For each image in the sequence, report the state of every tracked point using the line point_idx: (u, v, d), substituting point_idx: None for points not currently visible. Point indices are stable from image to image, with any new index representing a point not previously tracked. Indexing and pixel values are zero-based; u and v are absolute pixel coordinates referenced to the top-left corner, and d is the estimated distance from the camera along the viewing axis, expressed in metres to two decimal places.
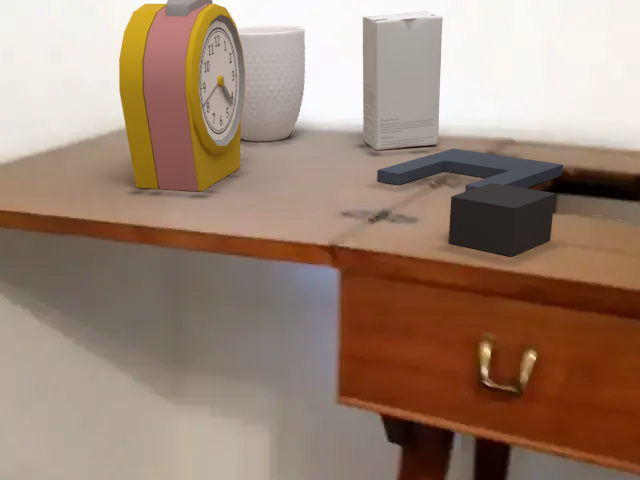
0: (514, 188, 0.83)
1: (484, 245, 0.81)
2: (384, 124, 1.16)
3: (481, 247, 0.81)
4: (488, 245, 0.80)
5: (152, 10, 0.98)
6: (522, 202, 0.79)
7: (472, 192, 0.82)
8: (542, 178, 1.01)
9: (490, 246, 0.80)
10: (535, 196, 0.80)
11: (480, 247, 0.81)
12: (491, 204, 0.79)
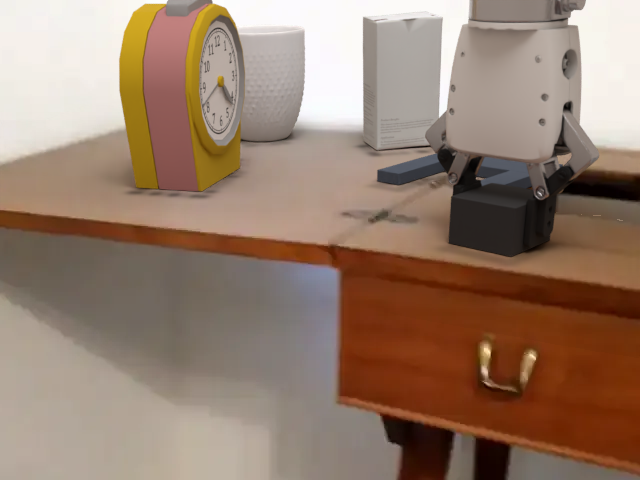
0: (514, 188, 0.83)
1: (484, 245, 0.81)
2: (384, 124, 1.16)
3: (481, 247, 0.81)
4: (488, 245, 0.80)
5: (152, 10, 0.98)
6: (522, 202, 0.79)
7: (472, 192, 0.82)
8: None
9: (490, 246, 0.80)
10: None
11: (480, 247, 0.81)
12: (490, 204, 0.79)
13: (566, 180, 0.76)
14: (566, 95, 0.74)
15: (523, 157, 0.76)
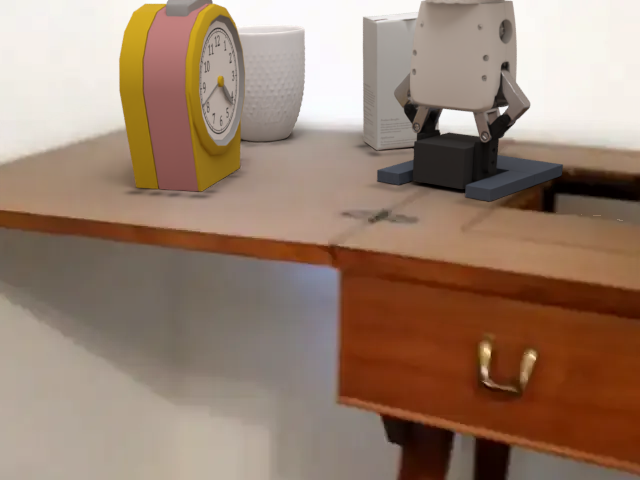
0: (466, 136, 1.01)
1: (441, 181, 0.99)
2: (384, 124, 1.16)
3: (438, 182, 0.99)
4: (444, 180, 0.99)
5: (152, 10, 0.98)
6: (470, 145, 0.97)
7: (431, 138, 1.01)
8: (542, 178, 1.01)
9: (445, 182, 0.99)
10: None
11: (437, 182, 0.99)
12: (445, 146, 0.97)
13: (504, 125, 0.95)
14: (503, 56, 0.93)
15: (470, 107, 0.95)
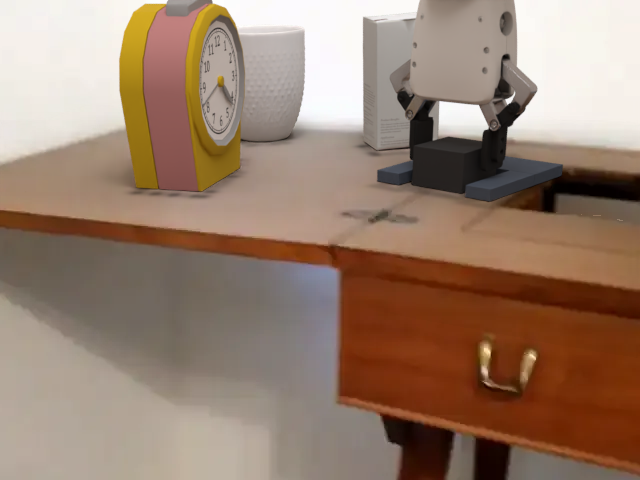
0: (465, 140, 1.02)
1: (440, 185, 0.99)
2: (384, 124, 1.16)
3: (438, 187, 1.00)
4: (443, 185, 0.99)
5: (152, 10, 0.98)
6: (470, 149, 0.98)
7: (431, 143, 1.01)
8: (542, 178, 1.01)
9: (444, 186, 0.99)
10: (481, 145, 0.99)
11: (437, 187, 1.00)
12: (444, 150, 0.97)
13: (514, 113, 0.93)
14: (503, 48, 0.92)
15: (470, 100, 0.95)
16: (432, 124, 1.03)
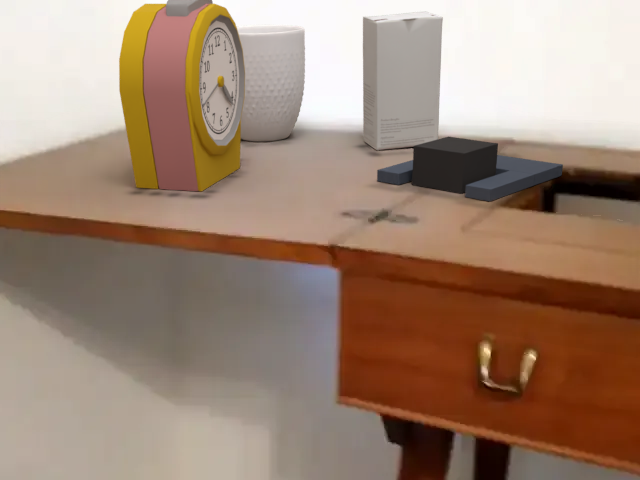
0: (465, 140, 1.02)
1: (440, 185, 0.99)
2: (384, 124, 1.16)
3: (438, 187, 1.00)
4: (443, 185, 0.99)
5: (152, 10, 0.98)
6: (470, 149, 0.98)
7: (431, 143, 1.01)
8: (542, 178, 1.01)
9: (444, 186, 0.99)
10: (481, 145, 0.99)
11: (437, 187, 1.00)
12: (444, 150, 0.97)
13: None
14: None
15: None
16: None
